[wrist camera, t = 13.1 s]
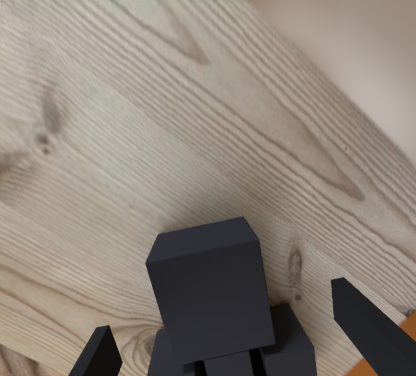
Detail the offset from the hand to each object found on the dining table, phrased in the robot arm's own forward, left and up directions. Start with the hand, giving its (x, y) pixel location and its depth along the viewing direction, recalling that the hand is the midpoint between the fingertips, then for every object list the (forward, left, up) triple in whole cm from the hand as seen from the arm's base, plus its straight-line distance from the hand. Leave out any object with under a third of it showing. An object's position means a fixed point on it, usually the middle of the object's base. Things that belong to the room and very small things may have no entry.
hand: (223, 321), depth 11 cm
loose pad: (0, +1, -5) cm, 5 cm away
